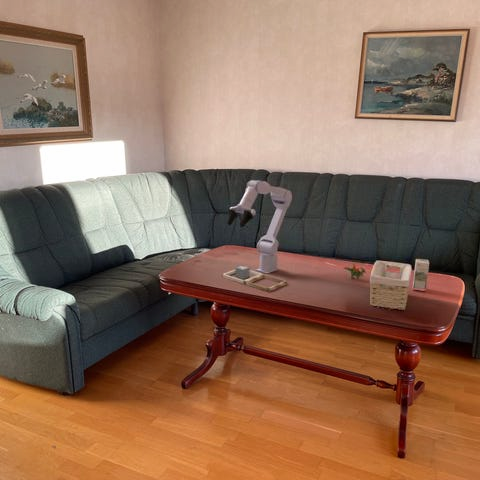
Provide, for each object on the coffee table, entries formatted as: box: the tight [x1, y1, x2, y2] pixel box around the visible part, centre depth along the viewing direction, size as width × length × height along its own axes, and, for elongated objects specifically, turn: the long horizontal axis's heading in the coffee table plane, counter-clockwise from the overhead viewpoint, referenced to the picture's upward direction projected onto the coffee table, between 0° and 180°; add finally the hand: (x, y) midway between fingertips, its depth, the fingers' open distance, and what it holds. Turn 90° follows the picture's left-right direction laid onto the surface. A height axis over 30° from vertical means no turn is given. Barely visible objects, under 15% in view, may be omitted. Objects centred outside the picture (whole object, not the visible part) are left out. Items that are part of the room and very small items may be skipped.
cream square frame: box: [221, 269, 263, 285], centre depth 231 cm, size 15×15×2 cm
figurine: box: [343, 263, 367, 281], centre depth 229 cm, size 3×12×8 cm, turn 55°
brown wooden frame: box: [244, 273, 288, 293], centre depth 221 cm, size 15×15×2 cm
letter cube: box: [234, 265, 250, 280], centre depth 230 cm, size 5×5×5 cm
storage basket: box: [369, 260, 413, 310], centre depth 202 cm, size 24×16×15 cm
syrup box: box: [412, 258, 430, 290], centre depth 215 cm, size 6×6×14 cm
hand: (234, 225), depth 212 cm, fingers open, 7 cm apart
